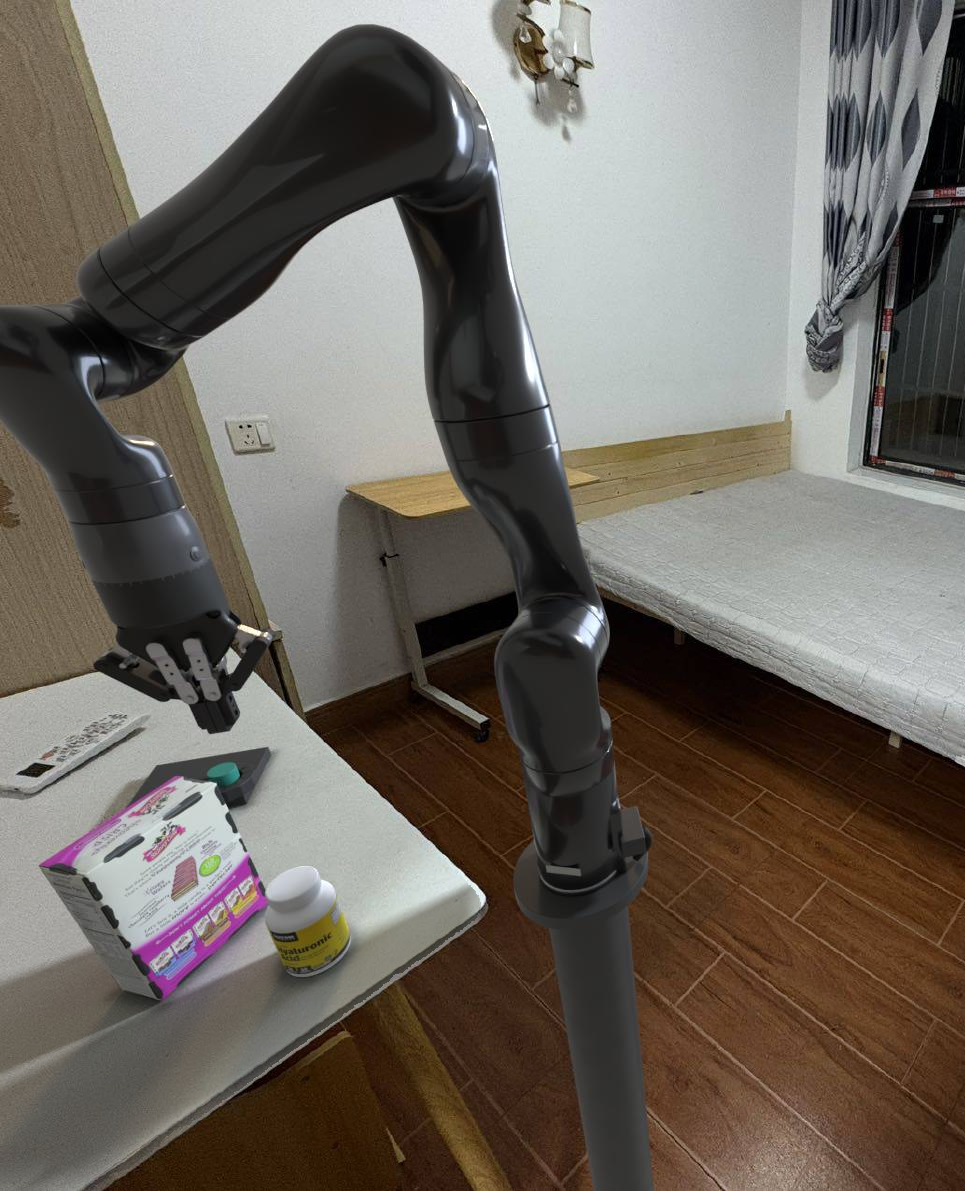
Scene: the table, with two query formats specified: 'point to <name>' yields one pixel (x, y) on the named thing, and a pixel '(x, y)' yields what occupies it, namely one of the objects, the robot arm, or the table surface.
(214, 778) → the button
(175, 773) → the scale
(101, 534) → the robot arm
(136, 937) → the candy bar box
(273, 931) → the supplement bottle
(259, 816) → the table surface
